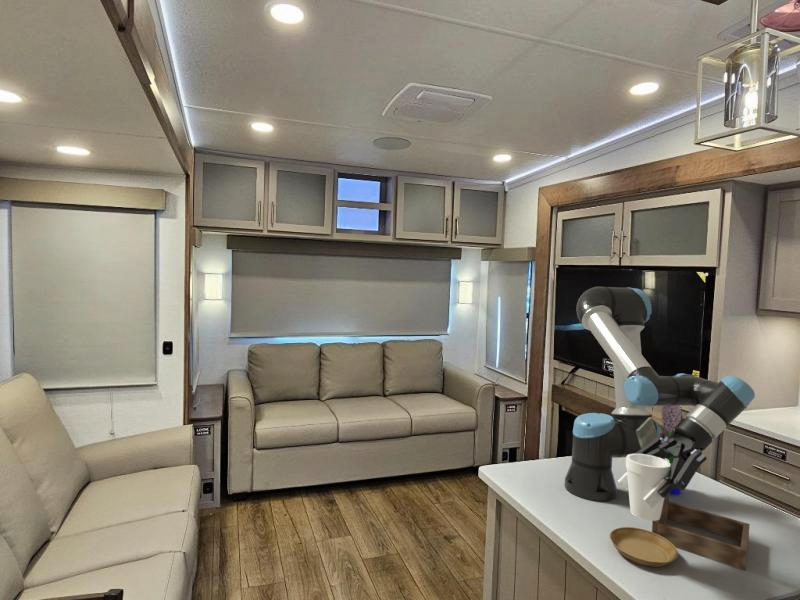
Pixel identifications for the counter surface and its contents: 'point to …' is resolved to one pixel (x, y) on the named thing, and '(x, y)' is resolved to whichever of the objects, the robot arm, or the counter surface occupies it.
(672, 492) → the hyacinth
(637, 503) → the foam cup
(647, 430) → the cold frame
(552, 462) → the counter surface
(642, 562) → the plant saucer
